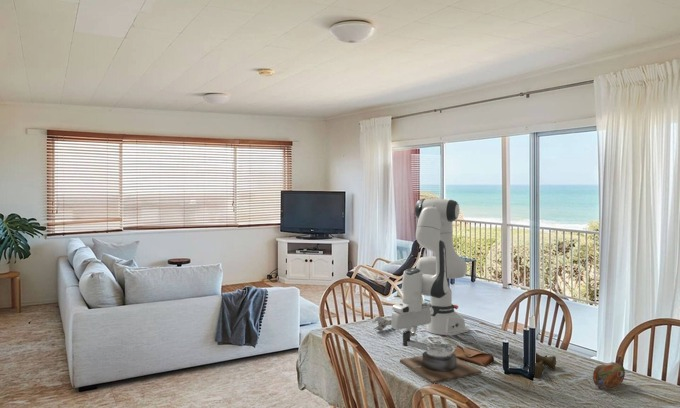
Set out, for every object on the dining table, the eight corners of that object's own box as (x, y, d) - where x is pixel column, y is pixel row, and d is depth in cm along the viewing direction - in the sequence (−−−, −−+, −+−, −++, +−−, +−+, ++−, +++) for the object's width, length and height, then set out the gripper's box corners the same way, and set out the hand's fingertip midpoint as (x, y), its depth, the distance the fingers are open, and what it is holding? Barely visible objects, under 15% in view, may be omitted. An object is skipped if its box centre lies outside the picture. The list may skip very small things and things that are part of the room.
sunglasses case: (447, 357, 211) (451, 342, 214) (453, 360, 216) (457, 346, 218) (486, 367, 199) (489, 351, 202) (492, 371, 204) (495, 356, 206)
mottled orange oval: (598, 390, 178) (599, 368, 177) (590, 387, 181) (591, 365, 180) (625, 383, 184) (626, 362, 183) (617, 380, 187) (618, 359, 186)
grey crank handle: (457, 354, 200) (457, 338, 200) (445, 362, 192) (445, 345, 191) (409, 342, 215) (409, 328, 214) (396, 349, 206) (396, 334, 206)
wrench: (411, 327, 263) (373, 332, 244) (409, 326, 265) (371, 331, 245) (412, 313, 263) (375, 316, 244) (410, 312, 265) (372, 316, 245)
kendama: (522, 375, 193) (534, 359, 209) (547, 382, 187) (558, 364, 203) (523, 361, 192) (535, 346, 208) (548, 367, 186) (558, 351, 203)
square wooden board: (445, 353, 215) (445, 342, 215) (481, 373, 194) (481, 361, 193) (399, 361, 205) (399, 350, 205) (432, 383, 184) (432, 370, 183)
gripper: (425, 300, 219) (424, 330, 219) (389, 306, 208) (389, 337, 209) (434, 303, 213) (434, 334, 214) (398, 310, 203) (397, 341, 204)
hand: (411, 336), depth 211 cm, fingers closed
